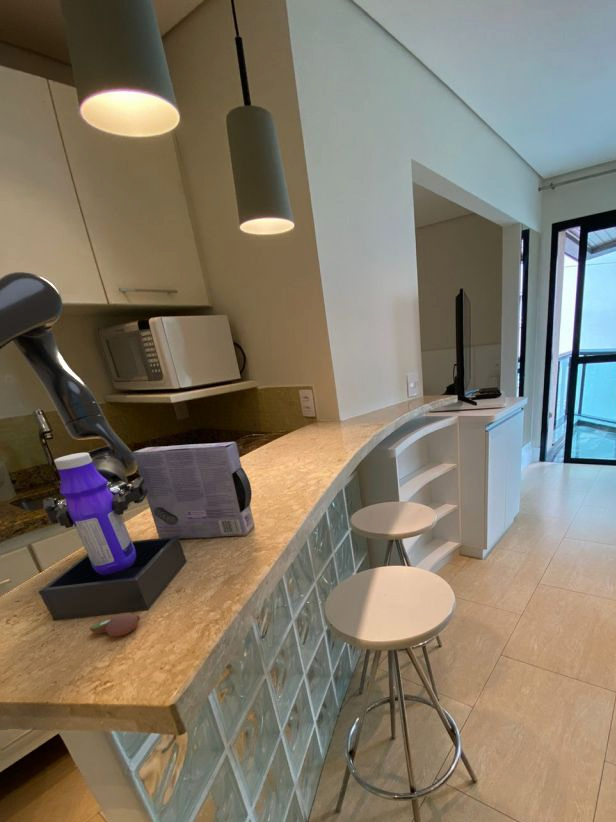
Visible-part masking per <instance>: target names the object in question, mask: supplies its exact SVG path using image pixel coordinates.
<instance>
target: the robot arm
mask: <svg viewBox="0 0 616 822" xmlns="http://www.w3.org/2000/svg"><path fill="white" fill-rule="evenodd" d="M62 313H63V299H62V296H61V294H60V292H59V291H58V289H57V288H56V286H55V285H54V284H53V283H52V282H50V281H49V280H48V279H45V278H44V277H42V276H40V275H37V274H34V273H31V272H23V271H16V272H10V273H8V274H5V275H3V276H2V277H0V351H1V350H2V349H3V348H5V347H6V346H7V345H8V344H10V343H11V342H12V343H13V344H14V345H15V347H16V348H17V350H18V351H19V352H20V353H21V355H22V356H23V357H24V358H23V359H25V361H26V362H27V364H28V365H29V366H30V368H31V369H32V371H33V372H34V374H35V375H36V377H37V378H38V380H39V381H40V383H41V385H42V386H43V388H44V389H45V391H46V394H48V397H49V399H50V400H51V402H52V405H53V406H54V408H55V410H56V412H57V414H58V416H59V418H60V419H61V421H62V424H63V426H64V427H65V429H66V431H67V433H68V434H69V435H70V437H71V438H72V439H74V440H77V441H85V440H93V439H94V440H96V439H97V440H99V439H100V440H103V441H105V443H106V445H104V446H101V447H97V448H95V449H92V450H88V451H85V452H84V453H89V455H90V457H91V460H92V462H93V464H94V466H95V468H96V469H97V471H98V472H99V474H100V475H101V476H103V477H104V478H105V479H107V482H108V483H107V488H108V489H109V490H110V492H111V493H112V494H113V501H112V502H113V505H114V508H115V510H116V513H117V515H121V516H122V515H124V512H125V511H127V510H128V509H129V507H131V503H134V504H141V503H142V502H143V501H144V500H145V498H146V494H147V493H148V490H147V487H146V484H145V482H144V479H143V478H141V477H140V476H139V477H136V478H135V479H134V480H132V481H130V483H129V480H128V477H129V476H132V475H134V474H135V473H137V471H138V468H137V465H136V461H135V458H134V455H133V452H134V451H133V450H131V448H130V447H129V446H128V445H127V444H126V443H125V442H124V441H123V440H122V438H120V437H119V435H118V434H117V432H116V431H115V430H114V428H112V426H111V424H110V423H109V422H108V420H107V417H106V416H105V414H104V412H103V410H102V408H101V405H100V404H99V402H98V400H97V398H96V397H95V395H94V393H93V391H92V390H91V388H90V387H89V386H88V385H87V383H86V382H85V381H84V380H83V379H82V378H81V377H80V375H78V373H77V372H75V370H74V369H73V368H72V367H71V366H70V365H69V363H68V362H67V360H66V359H65V358H64V356H63V354H62V352H61V351H60V349H59V346H58V343H57V341H56V338H55V335H54V333H53V328H54V327H55V325H56V324H57V322H59V320H60V319H61V317H62ZM42 503H43V504H42V505H43V510H44V512H45V513H46V515H47V518H48V520H49V522H50V524H51V525H54V524H58V525H59V526H60V527H65V529H70V528H73V527H74V526H75V525H74V523H73V521H72V519H71V518H70V516H69V514H68V510H67V506H66V498H64V499H60V500H58V499H57V498H54V497H46V498H44V499H43V500H42Z"/></svg>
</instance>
